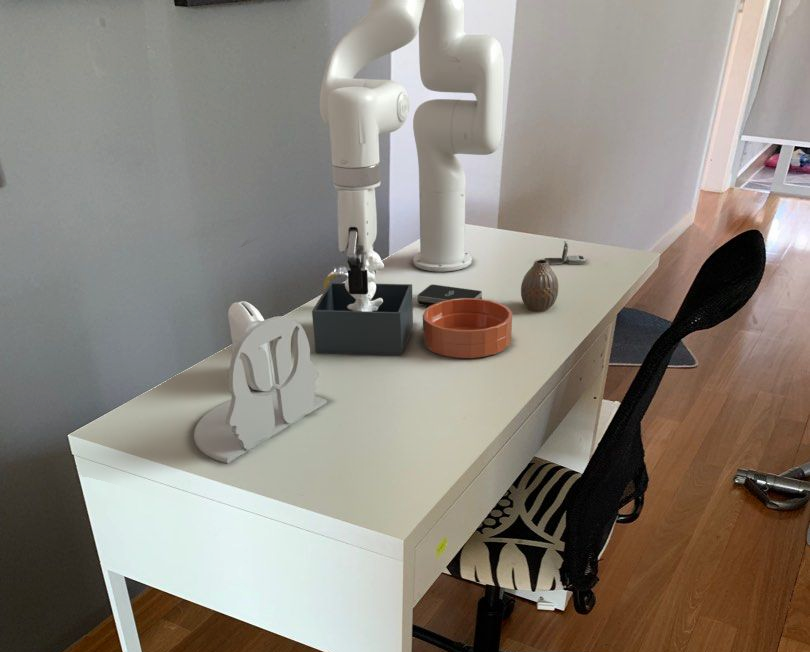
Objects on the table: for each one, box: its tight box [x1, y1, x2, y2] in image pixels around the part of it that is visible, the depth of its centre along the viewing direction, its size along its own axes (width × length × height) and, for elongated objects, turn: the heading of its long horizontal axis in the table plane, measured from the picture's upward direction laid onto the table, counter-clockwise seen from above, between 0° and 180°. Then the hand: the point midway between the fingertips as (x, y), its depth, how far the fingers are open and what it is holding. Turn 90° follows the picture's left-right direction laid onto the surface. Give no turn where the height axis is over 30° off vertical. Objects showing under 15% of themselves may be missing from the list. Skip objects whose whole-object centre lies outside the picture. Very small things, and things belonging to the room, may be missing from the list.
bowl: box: [422, 298, 513, 359], centre depth 148 cm, size 15×15×5 cm
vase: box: [520, 259, 559, 312], centre depth 159 cm, size 7×7×9 cm
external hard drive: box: [416, 284, 483, 307], centre depth 164 cm, size 7×11×2 cm, turn 64°
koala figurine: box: [344, 247, 385, 312], centre depth 144 cm, size 8×7×12 cm
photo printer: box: [227, 300, 275, 391], centre depth 136 cm, size 10×4×12 cm, turn 26°
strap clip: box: [543, 240, 587, 265], centre depth 181 cm, size 8×3×4 cm, turn 87°
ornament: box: [193, 315, 328, 464], centre depth 123 cm, size 22×13×17 cm, turn 145°
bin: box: [311, 282, 414, 357], centre depth 149 cm, size 14×15×8 cm
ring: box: [323, 264, 348, 292], centre depth 161 cm, size 7×3×8 cm, turn 68°
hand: (362, 285), depth 146 cm, fingers closed on koala figurine, 6 cm apart
